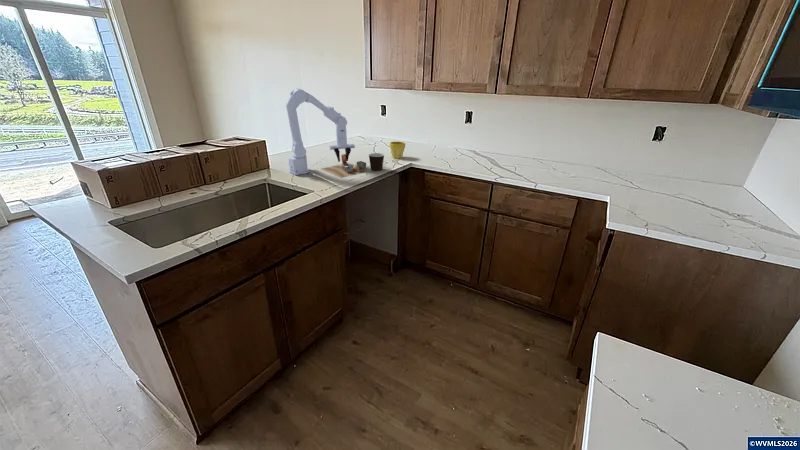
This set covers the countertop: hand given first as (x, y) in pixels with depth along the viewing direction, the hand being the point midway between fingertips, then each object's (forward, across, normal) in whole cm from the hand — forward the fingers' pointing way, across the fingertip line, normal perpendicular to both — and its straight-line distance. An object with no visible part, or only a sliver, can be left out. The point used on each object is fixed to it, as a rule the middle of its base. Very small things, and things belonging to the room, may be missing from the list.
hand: (343, 161), depth 197 cm
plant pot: (+5, -40, -14) cm, 43 cm away
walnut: (+3, -4, +14) cm, 15 cm away
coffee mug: (+5, -17, +13) cm, 22 cm away
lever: (+2, 0, +7) cm, 8 cm away
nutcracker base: (+4, +1, +9) cm, 10 cm away
